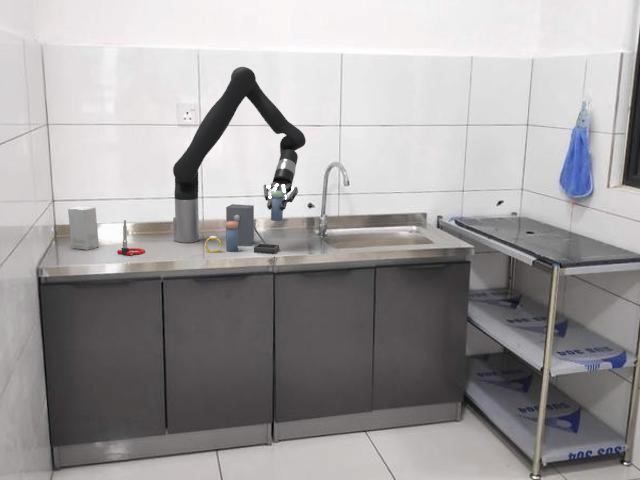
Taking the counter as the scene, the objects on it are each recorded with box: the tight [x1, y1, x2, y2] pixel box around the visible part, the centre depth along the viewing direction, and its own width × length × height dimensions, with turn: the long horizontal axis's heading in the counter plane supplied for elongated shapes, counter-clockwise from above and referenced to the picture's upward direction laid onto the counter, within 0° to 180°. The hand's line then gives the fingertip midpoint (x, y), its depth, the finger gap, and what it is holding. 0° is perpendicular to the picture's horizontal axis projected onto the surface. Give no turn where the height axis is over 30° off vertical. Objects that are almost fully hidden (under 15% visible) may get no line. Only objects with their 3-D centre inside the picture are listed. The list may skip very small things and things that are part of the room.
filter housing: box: [225, 203, 255, 247], centre depth 263 cm, size 9×8×15 cm
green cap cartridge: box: [270, 190, 284, 222], centre depth 251 cm, size 5×5×11 cm
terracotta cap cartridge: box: [224, 221, 239, 253], centre depth 251 cm, size 5×5×11 cm
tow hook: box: [116, 219, 146, 257], centre depth 245 cm, size 8×13×9 cm
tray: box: [253, 243, 280, 255], centre depth 252 cm, size 8×7×2 cm
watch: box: [204, 235, 222, 253], centre depth 249 cm, size 6×3×6 cm, turn 92°
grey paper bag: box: [67, 205, 100, 251], centre depth 251 cm, size 8×7×16 cm
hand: (275, 208), depth 249 cm, fingers closed on green cap cartridge, 4 cm apart
